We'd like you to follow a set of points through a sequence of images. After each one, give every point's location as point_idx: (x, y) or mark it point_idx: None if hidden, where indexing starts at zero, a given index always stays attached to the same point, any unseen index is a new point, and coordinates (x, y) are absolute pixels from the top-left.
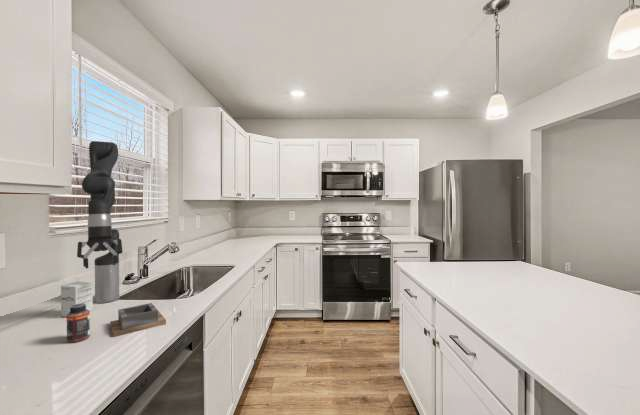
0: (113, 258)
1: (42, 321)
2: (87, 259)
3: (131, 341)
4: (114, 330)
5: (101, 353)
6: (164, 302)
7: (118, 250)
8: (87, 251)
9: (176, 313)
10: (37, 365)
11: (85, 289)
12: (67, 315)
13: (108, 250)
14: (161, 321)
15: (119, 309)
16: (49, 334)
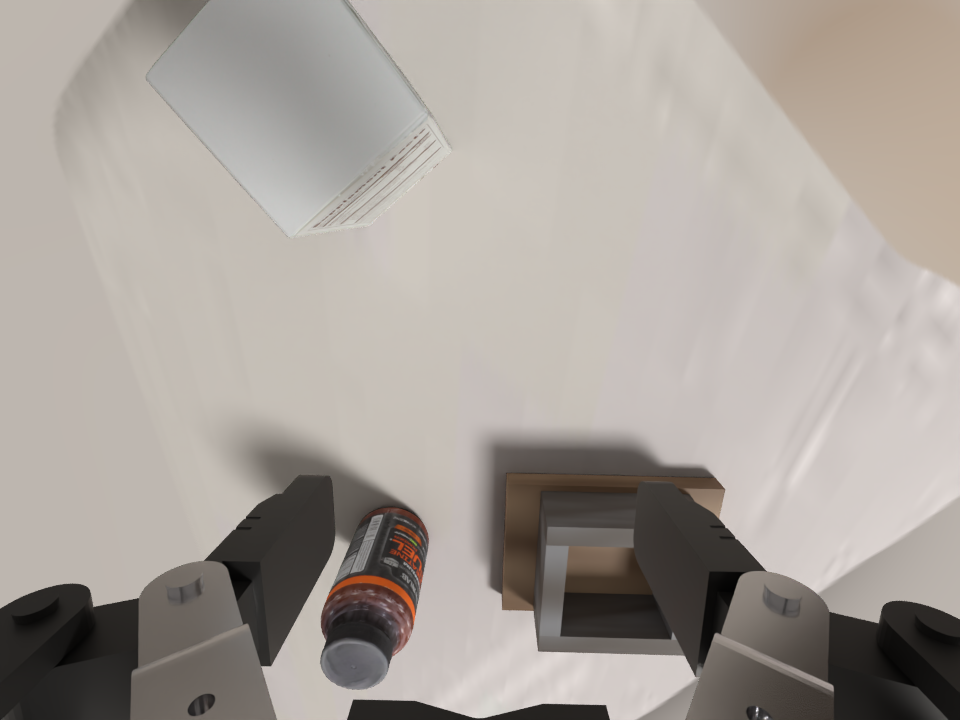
0: (678, 636)
1: (208, 152)
2: (267, 651)
3: (543, 662)
4: (507, 592)
5: (455, 683)
6: (837, 286)
7: (938, 701)
8: (137, 706)
9: (782, 515)
10: (300, 649)
11: (379, 178)
12: (323, 634)
13: (704, 673)
14: None
15: (552, 528)
16: (284, 405)
